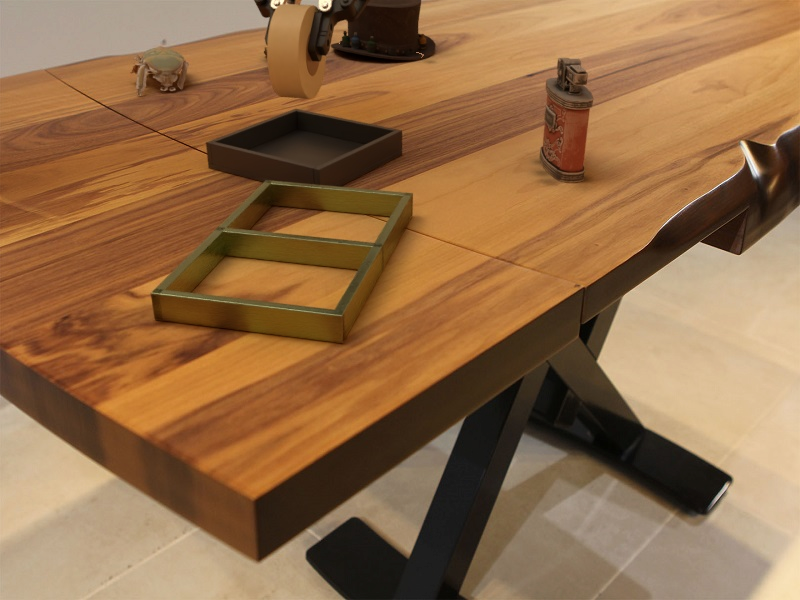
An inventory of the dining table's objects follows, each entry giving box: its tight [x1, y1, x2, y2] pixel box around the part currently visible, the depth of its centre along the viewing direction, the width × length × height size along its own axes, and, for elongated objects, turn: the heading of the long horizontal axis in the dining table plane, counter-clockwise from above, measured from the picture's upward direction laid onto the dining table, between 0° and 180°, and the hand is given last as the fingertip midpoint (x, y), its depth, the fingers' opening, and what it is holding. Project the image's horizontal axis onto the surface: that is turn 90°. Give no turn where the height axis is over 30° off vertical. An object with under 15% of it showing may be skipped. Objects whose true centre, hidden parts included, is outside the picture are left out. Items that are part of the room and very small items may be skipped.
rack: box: [150, 180, 414, 344], centre depth 63 cm, size 13×21×2 cm, turn 167°
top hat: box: [330, 0, 436, 61], centre depth 121 cm, size 15×15×10 cm
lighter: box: [539, 57, 594, 183], centre depth 79 cm, size 8×3×10 cm, turn 6°
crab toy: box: [129, 45, 191, 97], centre depth 106 cm, size 9×11×5 cm
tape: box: [266, 4, 327, 100], centre depth 76 cm, size 3×8×8 cm, turn 167°
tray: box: [205, 108, 403, 187], centre depth 82 cm, size 13×13×2 cm
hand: (295, 54), depth 75 cm, fingers closed on tape, 3 cm apart
